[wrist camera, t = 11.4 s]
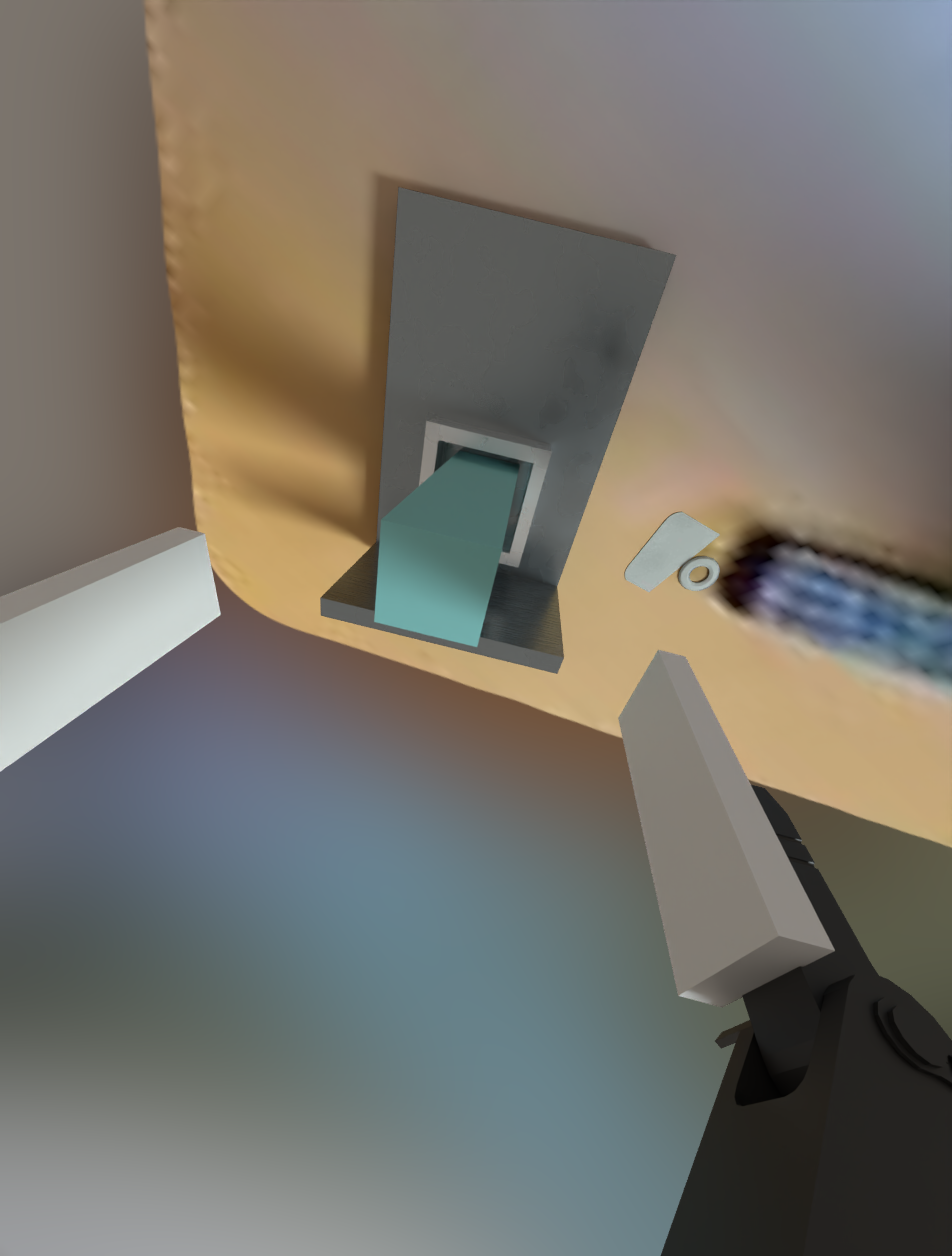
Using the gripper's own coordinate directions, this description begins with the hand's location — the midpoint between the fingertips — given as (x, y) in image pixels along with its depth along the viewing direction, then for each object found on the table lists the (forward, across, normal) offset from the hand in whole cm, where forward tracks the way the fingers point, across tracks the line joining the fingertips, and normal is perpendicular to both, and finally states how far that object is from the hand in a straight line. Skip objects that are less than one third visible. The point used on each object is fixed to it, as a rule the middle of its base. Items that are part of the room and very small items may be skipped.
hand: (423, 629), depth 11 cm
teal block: (+18, +1, 0) cm, 18 cm away
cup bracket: (+19, +1, -3) cm, 19 cm away
